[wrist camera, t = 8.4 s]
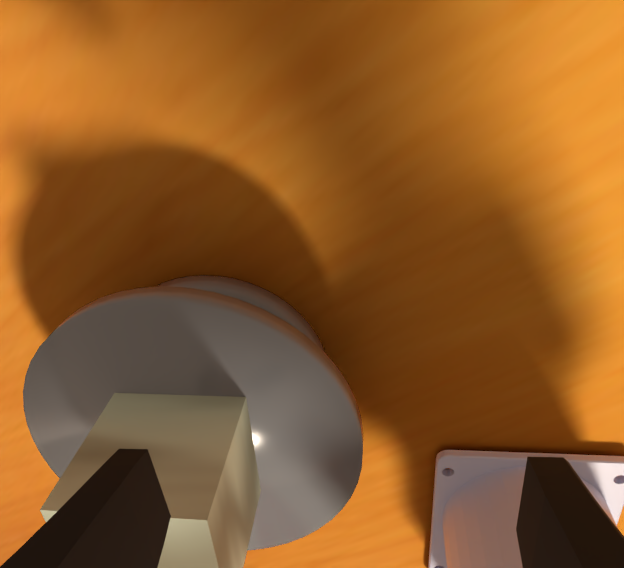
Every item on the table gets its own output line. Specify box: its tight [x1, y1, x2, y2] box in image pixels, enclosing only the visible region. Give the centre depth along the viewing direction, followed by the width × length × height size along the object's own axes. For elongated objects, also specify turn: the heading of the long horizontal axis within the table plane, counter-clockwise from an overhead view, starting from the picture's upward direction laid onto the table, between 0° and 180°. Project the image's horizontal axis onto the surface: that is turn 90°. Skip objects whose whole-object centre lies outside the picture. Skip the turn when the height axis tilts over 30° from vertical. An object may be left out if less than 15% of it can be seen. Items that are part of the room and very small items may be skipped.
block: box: [40, 393, 261, 568], centre depth 16 cm, size 4×4×4 cm
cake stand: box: [23, 275, 363, 550], centre depth 20 cm, size 12×12×4 cm
